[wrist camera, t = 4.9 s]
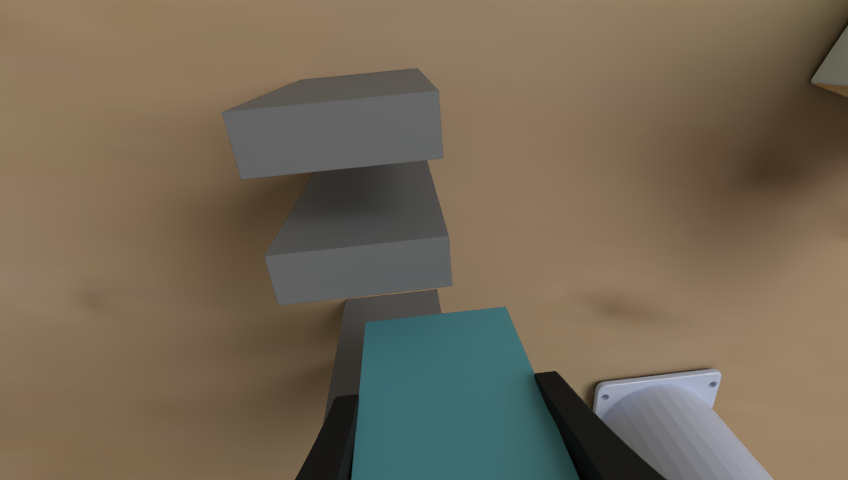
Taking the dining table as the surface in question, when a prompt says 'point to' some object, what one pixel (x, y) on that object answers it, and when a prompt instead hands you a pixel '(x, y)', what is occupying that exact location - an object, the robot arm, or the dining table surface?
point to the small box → (835, 68)
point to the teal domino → (453, 403)
